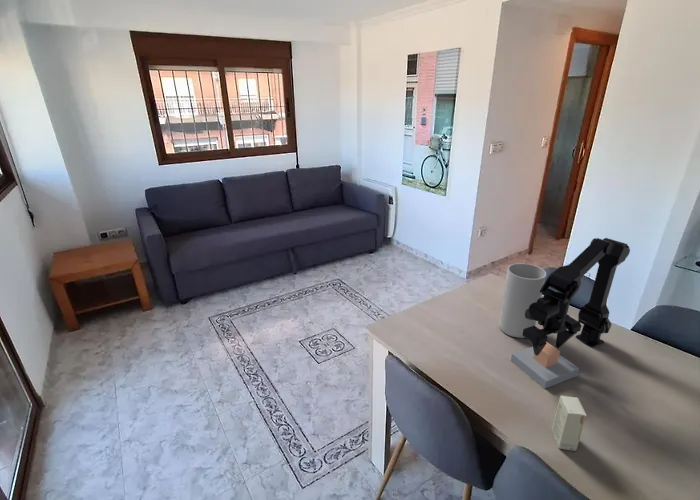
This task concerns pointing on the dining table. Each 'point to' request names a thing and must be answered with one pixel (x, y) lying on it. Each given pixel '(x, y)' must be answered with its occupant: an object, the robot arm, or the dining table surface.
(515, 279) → the cylinder vase
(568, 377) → the slate base
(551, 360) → the terracotta cube
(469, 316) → the dining table surface
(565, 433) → the skincare box
